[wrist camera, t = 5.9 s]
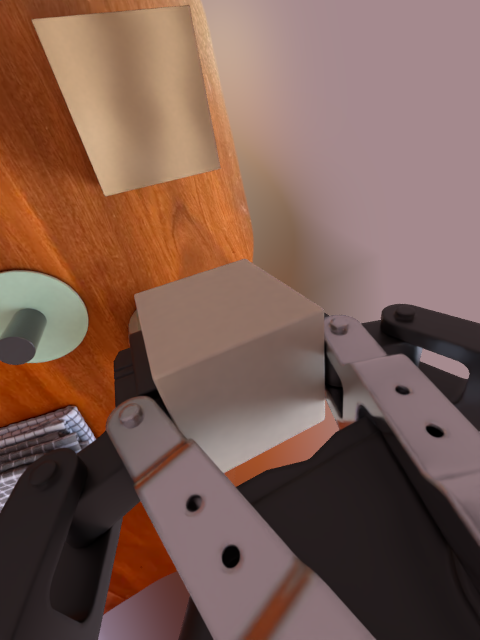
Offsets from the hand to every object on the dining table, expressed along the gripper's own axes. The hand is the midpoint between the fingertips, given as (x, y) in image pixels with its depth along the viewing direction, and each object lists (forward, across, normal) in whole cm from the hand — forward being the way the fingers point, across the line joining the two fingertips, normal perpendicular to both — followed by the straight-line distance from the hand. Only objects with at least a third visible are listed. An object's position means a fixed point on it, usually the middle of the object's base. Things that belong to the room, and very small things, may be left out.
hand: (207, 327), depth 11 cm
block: (0, 0, 0) cm, 0 cm away
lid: (+24, +14, +6) cm, 28 cm away
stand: (+24, -2, -9) cm, 26 cm away
